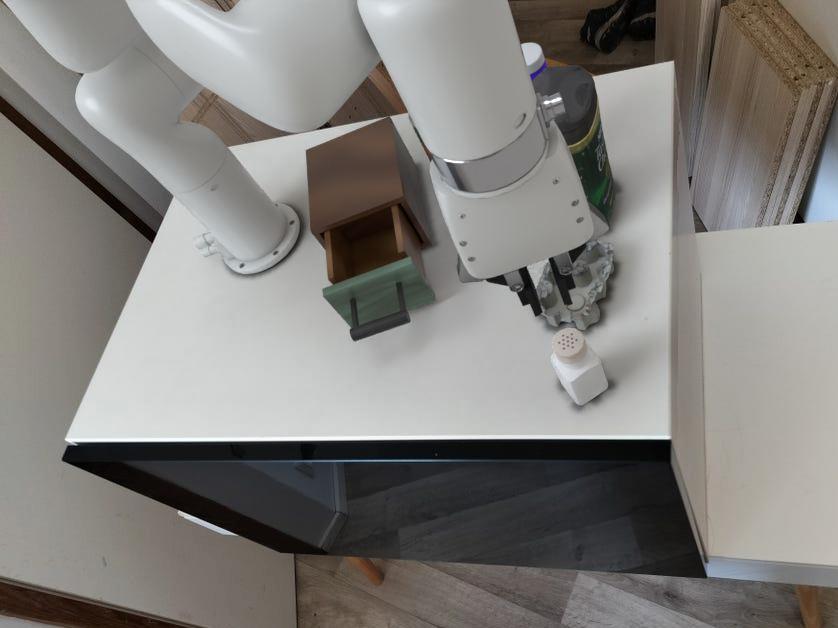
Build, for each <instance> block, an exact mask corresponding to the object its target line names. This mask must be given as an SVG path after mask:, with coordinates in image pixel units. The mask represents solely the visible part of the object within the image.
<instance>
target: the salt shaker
mask: <svg viewBox="0 0 838 628" xmlns="http://www.w3.org/2000/svg"><path fill="white" fill-rule="evenodd" d="M552 337H553V338H552V342H551V346H552V350H553V353H552V354H551V356H550V362H551V364H552V366H553V368H554V370H555V373H556V375H557V377H558V380H559V382H560V384H561V385H562V387H563V388H564V390H565V391H566V392H567V393H568V395H569V396H570V397H571V399H573V401H574V402H575V404H577V405H578V406H583V405H585V404H587V403H589V402H590V401H591V400H593V399H594V398H596V397H597V396H599V395H600V394H601V393H603V392H605V391H606V390H607V389H608V387H609V383H608V379H607V377H606V374H605V370H604V367H603V365H602V361H601V359H600V357H599V356H598V354H597V352H596V351H595V350H594V349H593V347H591V345H590V344H589V343H588V342H587V341H586V339H585V337H584V334H583V332H582V331H581V330H580V329H578V328H577V327H576V328H575V327H565V328H563V329H559V330H558V331H557V332H556V334H554V335H553V336H552Z"/></svg>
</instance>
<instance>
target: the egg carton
mask: <svg viewBox="0 0 838 628" xmlns="http://www.w3.org/2000/svg"><path fill="white" fill-rule="evenodd" d="M614 256H615V251H614V244H613V243H612V242H608V243H607V244H605V243H602V242H599V241H598V240H594V241H593V242H592V243H590V242H589V243H588V244H587V247H586V249H585V250H584V251H583V252H582V253H581V255H580V256H579V257H578V258H577V260H576V261H575V262H574V263H573V267H574V270H573V272H572V276H573V279H574V282H575V285H576V288H575V289H572V290H569V294H570V297H571V300H572V303H573V304H572V305H569V306H567V305H564V303H563V300H562V297H561V295H560V292H559V289H558V286H557V284H556V281H555V278H554V275H553V272H552V268H551V265H550V262H549V259H547V262H546V263H545V264H544V267H543V270H542V273H541V276H540V278H539V281H538V284H537V285H536V287H535V288H536V291H537V294H538V298H539V301H540V305H541V308H542V311H543V313H541V316H543V317H545V318H546V320H547V322H548V324H549V325H550V326H553V327H555V328H556V327H558V326H559V325H560V323H562V322H566V323H572V321H574V323H575V326H576V329H577V330H580V331H581V330H582V331H586V330H587V329H588V327H589V326H591V325H592V324H595V323H597V322H599V320H600V318H601V314H600V313H601V310H600V309H599V306H598V304H597V301H598V300H601V299H603V298H604V299H605V298H606V294H607V280H608V278H609V277H610V275H612V274H613V272H614V271H615V265H614V264H613V257H614Z"/></svg>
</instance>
